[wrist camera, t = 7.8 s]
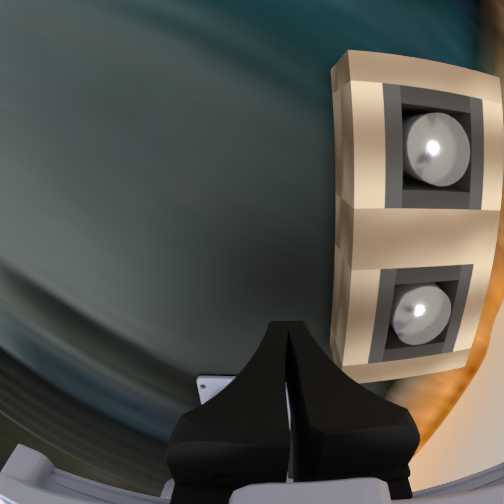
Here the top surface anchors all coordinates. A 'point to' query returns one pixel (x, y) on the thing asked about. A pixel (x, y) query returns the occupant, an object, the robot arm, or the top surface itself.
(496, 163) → the maple peg block
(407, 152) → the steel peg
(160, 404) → the top surface
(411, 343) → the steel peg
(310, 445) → the robot arm
